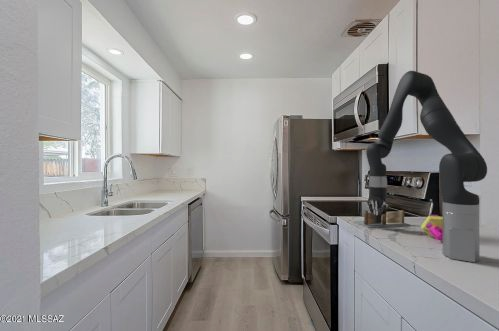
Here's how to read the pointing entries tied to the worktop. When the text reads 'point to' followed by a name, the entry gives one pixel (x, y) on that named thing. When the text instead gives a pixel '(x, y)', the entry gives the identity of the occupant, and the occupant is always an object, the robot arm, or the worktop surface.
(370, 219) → the fence gate
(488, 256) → the worktop surface
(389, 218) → the fence fixed
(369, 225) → the mat
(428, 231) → the toy
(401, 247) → the worktop surface
